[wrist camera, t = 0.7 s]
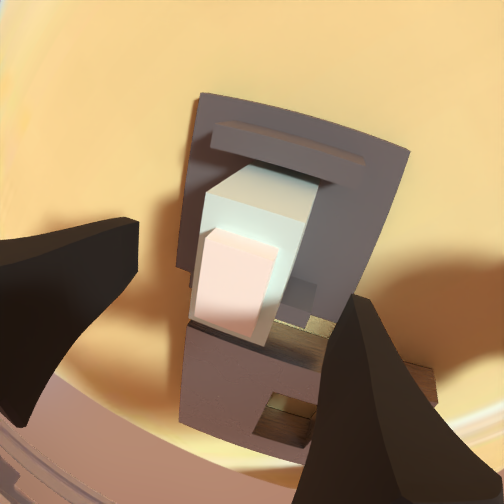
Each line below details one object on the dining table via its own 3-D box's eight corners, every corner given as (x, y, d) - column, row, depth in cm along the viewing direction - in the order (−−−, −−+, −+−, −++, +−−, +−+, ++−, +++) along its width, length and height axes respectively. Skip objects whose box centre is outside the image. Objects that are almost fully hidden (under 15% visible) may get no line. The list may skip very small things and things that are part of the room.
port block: (432, 369, 18) (438, 406, 15) (357, 448, 23) (353, 478, 21) (207, 297, 20) (184, 329, 17) (192, 397, 26) (177, 424, 23)
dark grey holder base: (407, 149, 13) (423, 160, 10) (339, 315, 18) (335, 354, 15) (207, 92, 14) (174, 92, 11) (181, 260, 19) (154, 288, 16)
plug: (321, 176, 14) (301, 234, 8) (292, 267, 16) (258, 361, 10) (259, 157, 14) (194, 200, 8) (238, 249, 17) (179, 331, 11)
